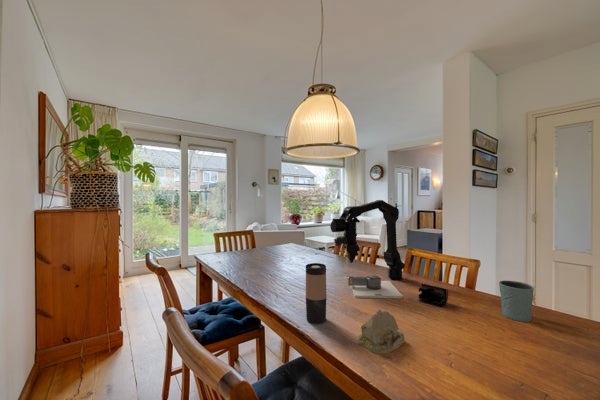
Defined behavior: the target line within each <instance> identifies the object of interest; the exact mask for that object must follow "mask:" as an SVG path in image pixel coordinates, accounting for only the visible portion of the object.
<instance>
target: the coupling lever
mask: <svg viewBox="0 0 600 400" xmlns="http://www.w3.org/2000/svg"><path fill="white" fill-rule="evenodd" d="M381 281H382V278H381V277H380V276H378V275H376V274H369V275H367V276H347V285H348V286H350V287H351V286H366V287H367V288H369V289H375V290H376V289H380V288H381Z"/></svg>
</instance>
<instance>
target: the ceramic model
mask: <svg viewBox="0 0 600 400" xmlns="http://www.w3.org/2000/svg"><path fill="white" fill-rule="evenodd" d="M397 323H398V322H397V321H396V318H395V317H394V315H393V314H391V313H390V312H389V311H387V310H385V311H382V310H381V309H378V310H376V313H375V314H372V315H371V316H370V318H368V319H367V320H365V322H364V323H363V324H362V325H361V326H360V329H361V333H360V334H358V337H357V338H356V340H355V342H356V343H357V345H359V346H361V347H364V348H365V349H366V348H367V349H366V350H368V351H369V352H371V353H375V354H390V353H392V352H393V351H395V350H397V349H399V348H400V347H401V345H402V346H403V343H404V342H405V340H406V339H405V334H404V333H403V332H401V331H400V330H399V326H398V324H397Z"/></svg>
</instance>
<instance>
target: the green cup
mask: <svg viewBox="0 0 600 400" xmlns="http://www.w3.org/2000/svg"><path fill="white" fill-rule="evenodd" d="M498 285H499V286H498V287H499V293H500V302H501V314H502V315H503V316H504V317H505V318H508V319H511V320H513V321H518V322H525V323H526V322H527V323H528V322H531V321H532V319H533V301H534V291H535V288H534V286H533V285H531V284H529V283H526V282H522V281H515V280H500V281H498Z"/></svg>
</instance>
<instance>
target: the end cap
mask: <svg viewBox="0 0 600 400" xmlns="http://www.w3.org/2000/svg"><path fill="white" fill-rule="evenodd" d="M420 285H421V286H420V287H419V288H418V292H419V293H418V299H419V300H418V301H419V303H422V304H423V303H424V304H427V305H431V306H434V307H437V308H440V309H441V308H443V307H444V306H446V304H447V303H448V300H449V290H448V289H447V288H444V287H439V286H435V285H430V284H426V283H421V284H420Z"/></svg>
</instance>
